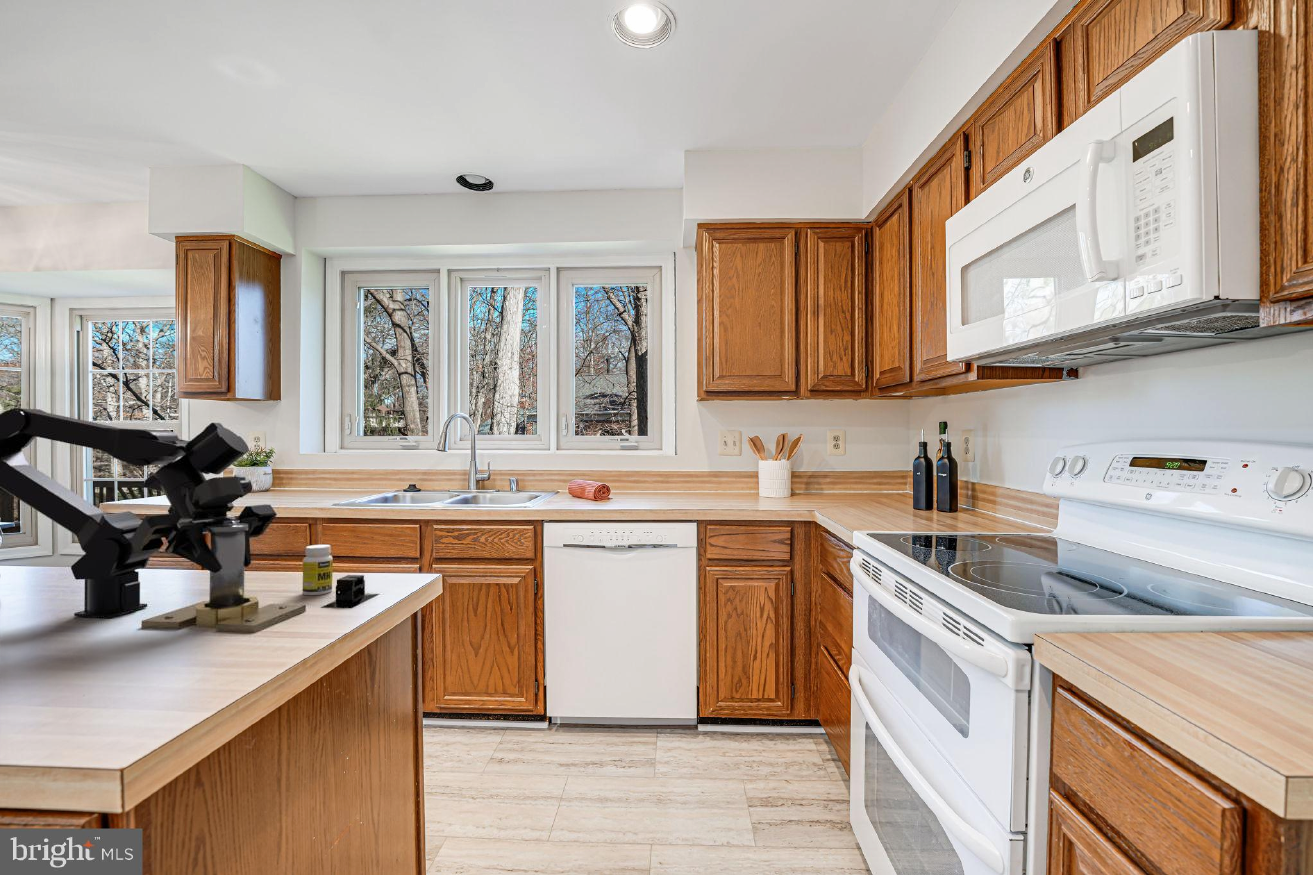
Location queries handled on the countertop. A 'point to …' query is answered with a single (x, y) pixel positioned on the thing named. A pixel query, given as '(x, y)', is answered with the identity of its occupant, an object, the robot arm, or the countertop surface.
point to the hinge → (226, 616)
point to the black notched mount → (350, 592)
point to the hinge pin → (227, 564)
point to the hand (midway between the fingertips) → (233, 567)
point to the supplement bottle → (317, 570)
